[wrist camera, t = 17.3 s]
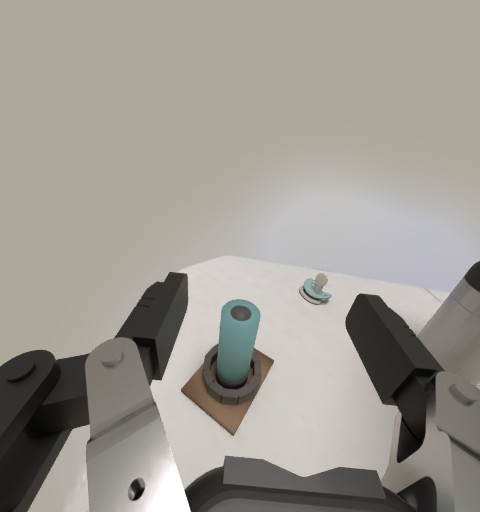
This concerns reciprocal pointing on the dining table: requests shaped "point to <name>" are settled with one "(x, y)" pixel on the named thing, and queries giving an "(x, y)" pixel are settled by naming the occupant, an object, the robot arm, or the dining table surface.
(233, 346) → the teal cylinder
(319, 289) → the pacifier
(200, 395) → the socket
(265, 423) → the dining table surface
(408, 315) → the dining table surface
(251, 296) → the dining table surface
